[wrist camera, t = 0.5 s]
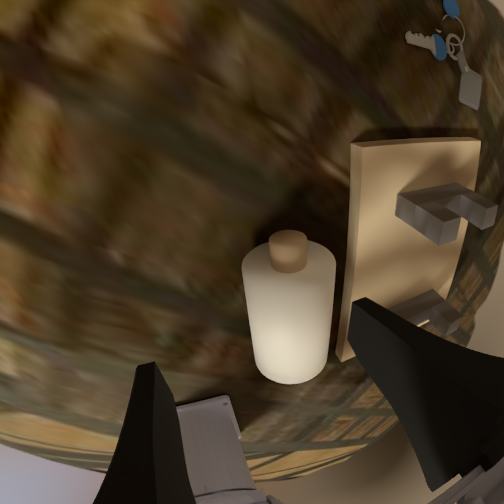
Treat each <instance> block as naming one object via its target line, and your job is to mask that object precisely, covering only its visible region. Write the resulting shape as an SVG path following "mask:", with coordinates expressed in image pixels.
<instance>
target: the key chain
mask: <svg viewBox="0 0 504 504" xmlns="http://www.w3.org/2000/svg"><path fill="white" fill-rule="evenodd" d="M443 6H444V9H445V11H446V13H447V15H445V16H444V17H443V20H444V19H445V17H446V16H450V17H451V18H453V19H456V18H457V19H458V20H459V21H460V23H461V24H462V22H461V20H460V19H459V18H458V17H459V15H460V10H459V6H458V4H457V2H456V1H455V0H443ZM453 16H454V17H453ZM462 26H463V24H462ZM436 30H437V29H436ZM463 30H464V26H463ZM437 31H438V32H439V33H440V32H442V31H439V30H437ZM414 34H415V35H414ZM414 34H411V31H408V33H407V32H406V35H405V38H406V41H407V43H409V44H413V45H416V46H420V47H423V48H427V49H430V50H431V52H432V53H433V55H434V58H436V59H437V60H444V59H445V58H446V56H447V53H449V55H450V57H451V58H452V59H453V60H457V62H458V65H459V67H460V70H461V82H460V90H459V101H460V102H461V103H463V104H465V105H467V106H469V107H471V108H473V109H475V110H478V109H479V103H480V95H481V87H482V77H481V75H479V74H478V73H476V72H475V71H473V70H471V69H470V68H469V66H468V64H467V62H466V58H465V55H464V53H463V46H462V42H463V41H464V39H465V30H464V37H463V40H462V41H461V40H460V38H459V37H458V36H457V35H456V34H453V33H451V34H448V36H447V38H446V45H445V42H444V41H443V39H442V38H441V37H440V36H439V35H437V34H432V36H431V37H430V36H425V38H424V35H422V34H421V33H419V36H418V34H417V33H414ZM451 37H455V38H456V39H457V40H458V42H459V44H453V43H450V42H449V40H450V38H451ZM449 44H450V45H451V46H452V48H453V51H452V52H451V50H450V46H449ZM453 45H455V46H458V45H460V51H459V52H458V53H457V54H456V55H455V56H454V55H453V53H454V51H455V50H454V46H453ZM446 47H447V49H446Z"/></svg>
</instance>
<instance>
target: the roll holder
mask: <svg viewBox="0 0 504 504" xmlns="http://www.w3.org/2000/svg"><path fill="white" fill-rule="evenodd" d="M480 147H481V141H480V140H477V139H474V138H472V137H437V138H412V139H394V140H380V141H368V142H357V143H351V172H350V204H349V224H348V240H347V254H346V266H345V277H344V287H343V297H342V306H341V315H340V323H339V330H338V338H337V345H336V352H335V353H336V355H337V356H338V358H339V359H340V361H341V362H342V361H345V360H347V359H350V358H352V357H354V356H356V355H355V353H354V351H353V350H352V348H351V346H350V344H349V342H348V340H347V336H348V329H349V321H350V314H351V306H352V302H353V301H356V300H358V299H361V298H364V297H367V298H369V299H371V300H372V301H374V302H376V303H378V304H379V305H381V306H383V307H385V308H386V309H388V310H390V311H391V312H393V313H395V314H397V315H398V316H400V317H402V318H404V319H405V320H407V321H409V322H411V323H413V324H414V325H416V326H418V327H419V326H421V325H423V324H425V323H427V322H429V321H430V322H431V323H432V324H433V325H434V326H435V327H436V328H437V329H438V330H439V331H440V332H441V333H442V334H443V335H444V336H447V335H448V334H450V333H452V332H453V331H455V330H456V329H457V328H458V326H459V324H460V321H461V319H462V317H463V316H462V315H461V314H460V313H459V312H458V311H456V310H455V309H454V308H453V307H452V306H451V305H450V304H449V303H448V302H447V301H446V297H447V294H448V292H449V288H450V285H451V282H452V279H453V276H454V273H455V269H456V266H457V263H458V259H459V256H460V252H461V248H462V244H463V241H464V237H465V233H466V228H467V224H468V221H469V222H470V223H472V224H474V225H475V226H477V227H478V228H480V229H481V230H483V229H485V228H488V227H490V226H493V225H494V222H495V218H496V214H497V209H498V205H497V204H496V203H494V202H492V201H490V200H489V199H487V198H485V197H483V196H481V195H479V194H478V193H476V192H474V189H475V183H476V177H477V171H478V163H479V156H480Z"/></svg>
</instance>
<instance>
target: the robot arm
mask: <svg viewBox="0 0 504 504" xmlns="http://www.w3.org/2000/svg"><path fill="white" fill-rule="evenodd" d="M347 340H348V342H349V344H350V346H351V348H352V350H353V351H354V353H355V355H356V357H357V359H358V360H359V362H360V363H361V365H362V366H363V367H364V369H365V370H366V372H367V373H368V374H369V376H370V377H371V378H372V380H373V381H374V382H375V384H376V385H377V387H378V388H379V389H380V391H381V392H382V393H383V395H384V396H385V397H386V399H387V400H388V402H389V403H390V405H391V406H392V408H393V409H394V411H395V413H396V415H397V417H398V418H399V420H400V422H401V424H402V426H403V428H404V430H405V432H406V434H407V436H408V438H409V440H410V442H411V444H412V446H413V448H414V451H415V453H416V455H417V458H418V460H419V463H420V465H421V468H422V471H423V473H424V476H425V479H426V483H427V485H428V487H429V488H430V490H431V491H432V492H433V491H435V490H436V489H438V488H439V487H441V486H442V485H443V484H445V483H447V482H448V481H449V480H451V479H452V478H454V477H455V476H456V475H457V474H460V475H461V477H462V479H460V480H459V481H458V482H457V483H455V484H454V485H453V486H452V487H450V488H449V489H448V490H446V491H445V492H444V493H442V494H441V495H439V496H438V497H437V498H435V499H434V500H432V501H431V502H429V503H428V504H454V503H455V502H457V504H504V358H501V357H496V356H492V355H488V354H484V353H480V352H477V351H474V350H471V349H468V348H465V347H462V346H460V345H457V344H455V343H452V342H449V341H447V340H445V339H443V338H440V337H438V336H436V335H434V334H432V333H430V332H428V331H426V330H424V329H422V328H420V327H418V326H416V325H414V324H413V323H411V322H409V321H407V320H405V319H404V318H402V317H400V316H398V315H397V314H395V313H393V312H391V311H390V310H388V309H386V308H385V307H383V306H381V305H379V304H378V303H376V302H374V301H372V300H371V299H369V298H367V297H364V298H361V299H358V300H356V301H353V302H352V306H351V314H350V321H349V329H348V336H347ZM241 437H242V436H241V433H240V430H239V427H238V424H237V421H236V417H235V414H234V411H233V408H232V405H231V402H230V399H229V396H227V395H222V396H218V397H215V398H211V399H207V400H203V401H199V402H195V403H190V404H186V405H182V406H177V407H176V405H175V401H174V397H173V394H172V392H171V390H170V388H169V387H168V385H167V383H166V381H165V379H164V378H163V376H162V374H161V372H160V370H159V368H158V367H157V365H156V363H155V362H151V363H147V364H142V365H138V366H137V368H136V372H135V378H134V382H133V387H132V392H131V396H130V400H129V404H128V408H127V412H126V416H125V420H124V423H123V427H122V430H121V433H120V436H119V440H118V443H117V446H116V449H115V452H114V455H113V458H112V461H111V463H110V466H109V468H108V471H107V473H106V476H105V478H104V480H103V483H102V485H101V487H100V490H99V492H98V494H97V496H96V498H95V500H94V502H93V504H283V503H282V502H281V501H280V500H278V499H276V498H275V497H273V496H271V495H268V496H265V493H264V491H263V489H256V487H255V484H254V481H253V479H252V476H251V473H250V470H249V468H248V465H247V462H246V459H245V456H244V454H243V451H242V448H241V445H240V442H239V439H240V438H241Z"/></svg>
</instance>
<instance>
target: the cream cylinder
mask: <svg viewBox="0 0 504 504" xmlns="http://www.w3.org/2000/svg"><path fill="white" fill-rule="evenodd" d="M335 273H336V260H335V258H334V256H333V254H332V253H331V252H330V251H329V250H328V249H327V248H325V247H324V246H322V245H320V244H318V243H315V242H312V241H309V240H307V237H306V235H305V234H304V233H302V232H300V231H296V230H282V231H278V232H276V233H274V234H272V235H271V236H270V238H269V242H268V243H264V244H261V245H259V246H257V247H256V248H254V249H253V250H251V251H250V252H249V253H248V254H247V255H246V256H245V258H244V260H243V262H242V274H243V281H244V288H245V295H246V302H247V309H248V316H249V323H250V329H251V336H252V343H253V350H254V356H255V362H256V365H257V367H258V369H259V370H260V372H261V373H262V374H263V375H264V376H266V377H267V378H269V379H270V380H272V381H275V382H278V383H283V384H298V383H302V382H305V381H308V380H310V379H312V378H314V377H315V376H316V375H318V374H319V373H320V372H321V371H322V369H323V368H324V366H325V364H326V361H327V355H328V347H329V338H330V329H331V320H332V309H333V298H334V286H335Z"/></svg>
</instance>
